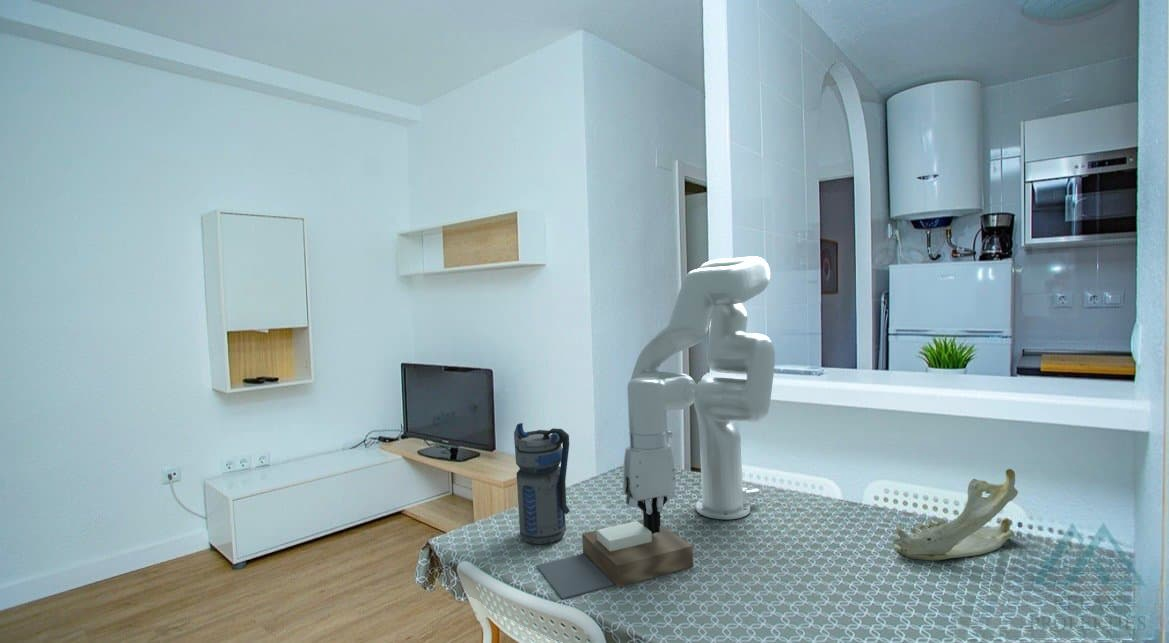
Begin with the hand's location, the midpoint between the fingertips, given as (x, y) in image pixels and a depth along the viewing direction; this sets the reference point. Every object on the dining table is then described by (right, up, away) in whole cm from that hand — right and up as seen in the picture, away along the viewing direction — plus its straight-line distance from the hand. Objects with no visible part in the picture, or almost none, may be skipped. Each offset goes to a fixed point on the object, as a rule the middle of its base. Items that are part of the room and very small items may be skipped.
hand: (652, 530), depth 115 cm
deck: (-3, -5, -1) cm, 6 cm away
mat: (-16, -6, -7) cm, 18 cm away
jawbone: (+58, -3, -3) cm, 58 cm away
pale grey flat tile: (-6, -1, -2) cm, 6 cm away
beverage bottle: (-22, -6, +11) cm, 25 cm away
